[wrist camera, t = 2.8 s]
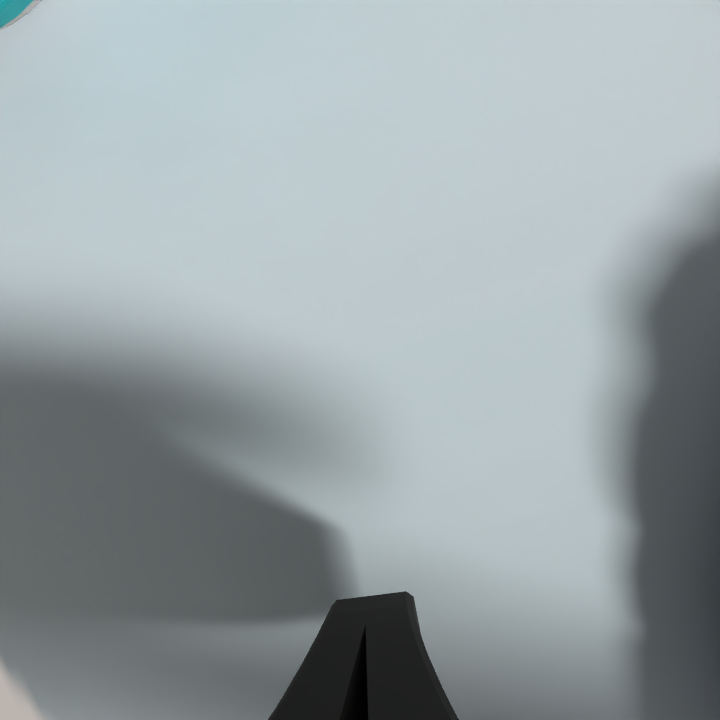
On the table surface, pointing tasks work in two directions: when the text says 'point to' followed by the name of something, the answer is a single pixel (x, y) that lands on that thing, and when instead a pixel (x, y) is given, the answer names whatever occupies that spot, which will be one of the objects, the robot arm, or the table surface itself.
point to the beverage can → (14, 10)
